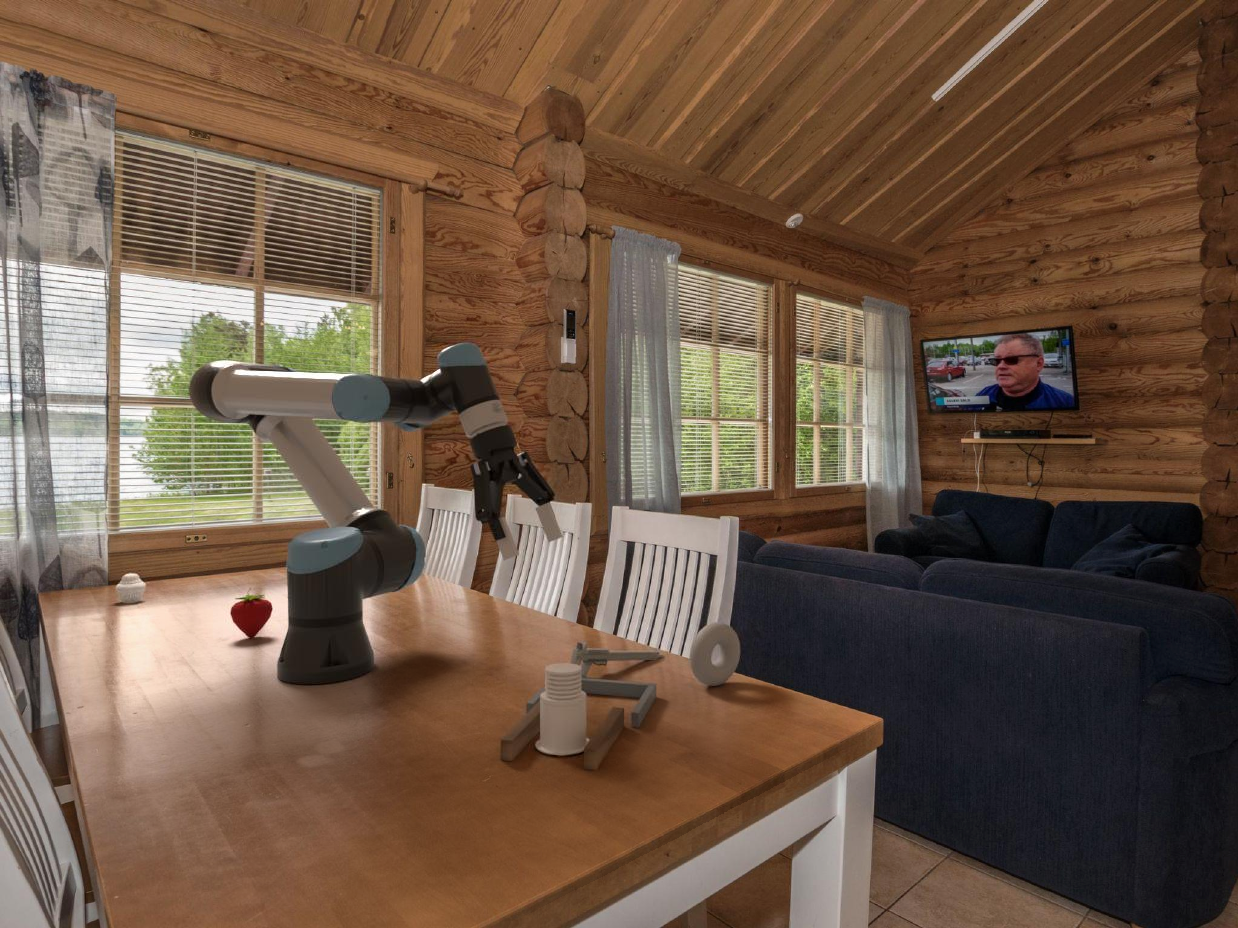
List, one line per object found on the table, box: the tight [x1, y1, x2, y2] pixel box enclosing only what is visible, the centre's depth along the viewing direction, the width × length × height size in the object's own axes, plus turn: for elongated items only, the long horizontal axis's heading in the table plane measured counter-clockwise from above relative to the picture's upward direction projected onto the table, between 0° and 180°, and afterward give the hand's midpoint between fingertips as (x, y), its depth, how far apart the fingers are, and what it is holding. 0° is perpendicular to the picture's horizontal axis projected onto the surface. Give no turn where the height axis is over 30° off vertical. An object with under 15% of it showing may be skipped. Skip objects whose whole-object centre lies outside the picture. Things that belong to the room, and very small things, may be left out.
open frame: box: [525, 677, 657, 729], centre depth 110 cm, size 16×12×2 cm
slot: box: [500, 701, 625, 771], centre depth 97 cm, size 12×14×2 cm
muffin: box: [114, 572, 147, 604], centre depth 180 cm, size 6×6×7 cm
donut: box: [689, 621, 741, 687], centre depth 119 cm, size 10×4×10 cm, turn 129°
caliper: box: [570, 641, 665, 678], centre depth 128 cm, size 20×1×6 cm, turn 132°
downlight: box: [535, 662, 590, 757], centre depth 96 cm, size 8×7×10 cm
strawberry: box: [230, 587, 273, 639], centre depth 148 cm, size 6×8×10 cm
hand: (534, 548), depth 128 cm, fingers open, 13 cm apart
